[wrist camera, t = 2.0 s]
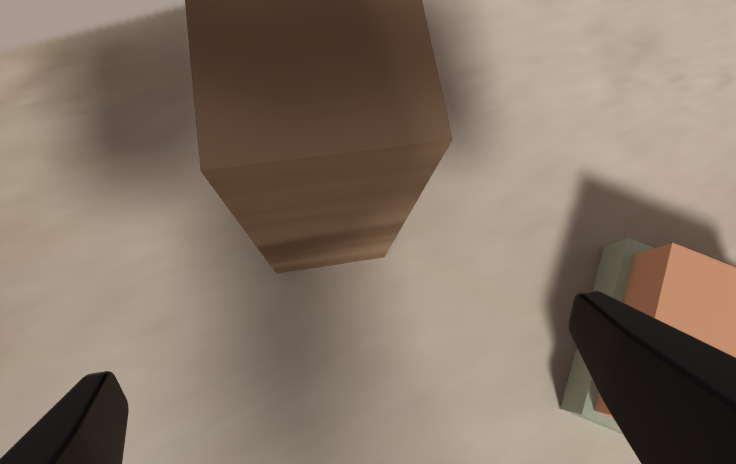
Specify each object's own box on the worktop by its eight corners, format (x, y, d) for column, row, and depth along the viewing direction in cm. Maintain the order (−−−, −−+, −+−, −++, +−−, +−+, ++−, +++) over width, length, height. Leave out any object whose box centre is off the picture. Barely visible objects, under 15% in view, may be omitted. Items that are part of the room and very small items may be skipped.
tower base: (719, 474, 22) (768, 490, 19) (554, 407, 22) (581, 414, 19) (750, 309, 24) (798, 304, 21) (598, 248, 24) (628, 237, 21)
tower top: (757, 477, 19) (817, 495, 17) (593, 410, 20) (630, 419, 17) (784, 314, 21) (842, 309, 19) (633, 254, 21) (672, 242, 19)
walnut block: (384, 257, 22) (452, 139, 10) (276, 273, 22) (200, 170, 9) (366, 157, 23) (407, -64, 11) (263, 170, 23) (180, -47, 10)
